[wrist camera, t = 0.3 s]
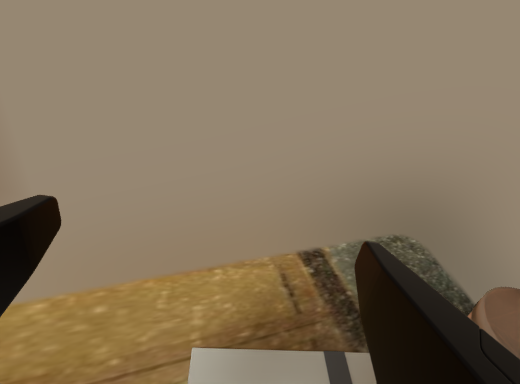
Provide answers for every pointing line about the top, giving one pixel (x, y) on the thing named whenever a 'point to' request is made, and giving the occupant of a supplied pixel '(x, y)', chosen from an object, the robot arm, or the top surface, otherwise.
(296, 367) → the mat
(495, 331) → the canister
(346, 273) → the top surface
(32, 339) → the top surface
